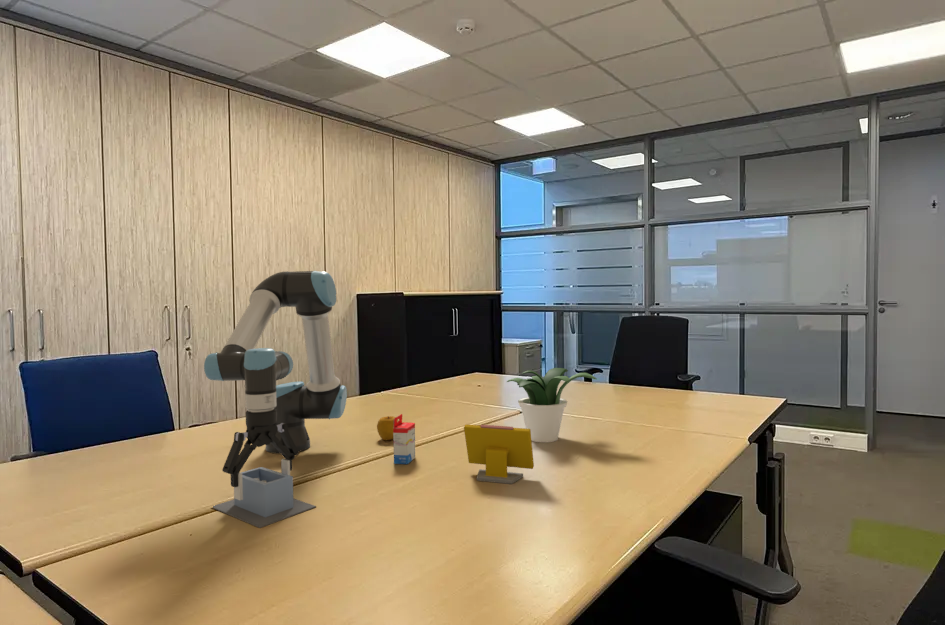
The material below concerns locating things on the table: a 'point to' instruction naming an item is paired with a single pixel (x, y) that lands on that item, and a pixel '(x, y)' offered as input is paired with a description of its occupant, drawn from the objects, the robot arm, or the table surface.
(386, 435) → the apple
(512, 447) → the yellow framed monitor
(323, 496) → the table surface
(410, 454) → the ink box
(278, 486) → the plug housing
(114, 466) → the table surface
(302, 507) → the header
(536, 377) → the potted plant
